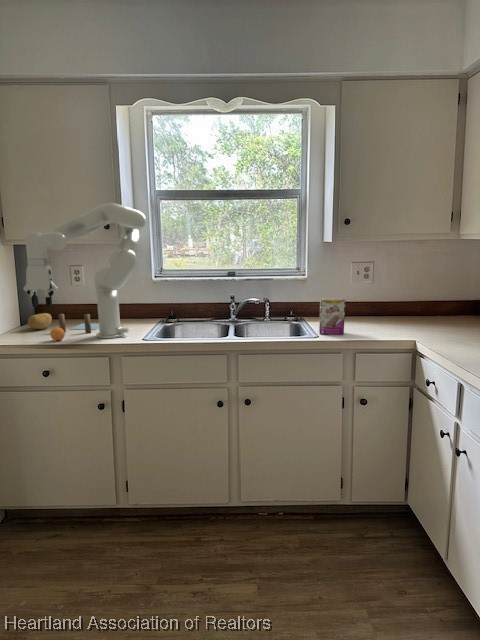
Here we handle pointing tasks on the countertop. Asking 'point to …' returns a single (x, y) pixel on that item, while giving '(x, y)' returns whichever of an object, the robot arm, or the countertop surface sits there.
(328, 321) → the candy bar box
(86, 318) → the right post
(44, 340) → the countertop surface
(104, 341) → the countertop surface
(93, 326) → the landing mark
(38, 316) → the potato
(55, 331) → the ball
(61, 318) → the left post
